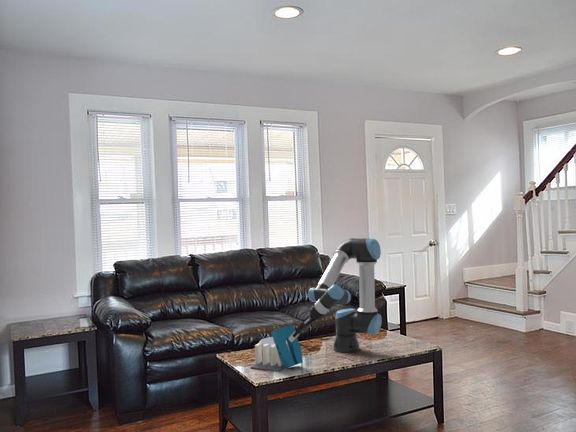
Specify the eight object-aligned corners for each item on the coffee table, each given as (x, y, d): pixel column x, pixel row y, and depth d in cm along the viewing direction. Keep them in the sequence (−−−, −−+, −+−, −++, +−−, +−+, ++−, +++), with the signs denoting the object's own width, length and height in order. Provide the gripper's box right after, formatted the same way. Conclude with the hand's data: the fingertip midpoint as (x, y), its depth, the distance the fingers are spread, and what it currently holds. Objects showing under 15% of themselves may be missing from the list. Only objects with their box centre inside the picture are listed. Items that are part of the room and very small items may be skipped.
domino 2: (269, 362, 275) (269, 343, 275) (265, 365, 271) (265, 346, 271) (267, 362, 276) (266, 343, 276) (263, 364, 271) (262, 345, 271)
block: (301, 362, 272) (288, 326, 277) (306, 361, 268) (293, 324, 273) (282, 369, 266) (270, 332, 270) (287, 368, 262) (274, 330, 266)
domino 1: (262, 361, 277) (261, 343, 277) (258, 364, 272) (257, 345, 272) (259, 361, 278) (259, 342, 278) (255, 363, 273) (254, 345, 273)
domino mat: (292, 362, 276) (292, 361, 276) (279, 371, 261) (279, 370, 261) (263, 359, 283) (263, 358, 283) (250, 368, 268) (250, 366, 268)
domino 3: (277, 363, 273) (276, 344, 273) (273, 365, 269) (272, 346, 269) (274, 362, 274) (274, 344, 274) (270, 365, 270) (270, 346, 269)
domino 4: (285, 363, 272) (281, 344, 272) (281, 366, 267) (277, 347, 268) (282, 363, 272) (278, 344, 273) (278, 366, 268) (274, 347, 268)
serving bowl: (275, 345, 312) (275, 334, 312) (302, 351, 299) (302, 339, 298) (252, 353, 296) (251, 341, 296) (279, 359, 282) (279, 347, 282)
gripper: (320, 317, 253) (290, 348, 260) (328, 312, 265) (299, 342, 272) (309, 306, 255) (280, 337, 262) (318, 301, 267) (290, 331, 274)
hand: (290, 340), depth 267 cm, fingers closed
